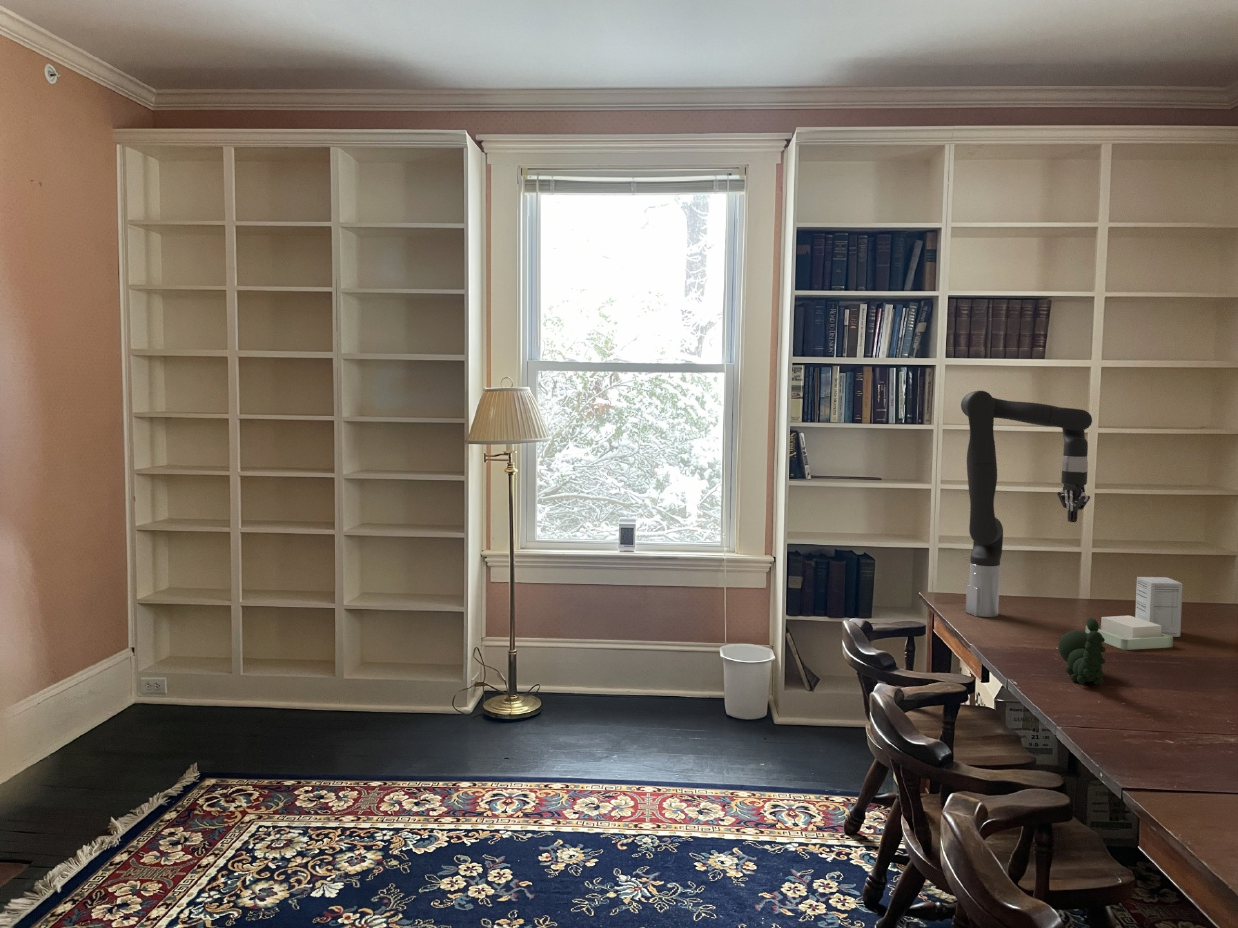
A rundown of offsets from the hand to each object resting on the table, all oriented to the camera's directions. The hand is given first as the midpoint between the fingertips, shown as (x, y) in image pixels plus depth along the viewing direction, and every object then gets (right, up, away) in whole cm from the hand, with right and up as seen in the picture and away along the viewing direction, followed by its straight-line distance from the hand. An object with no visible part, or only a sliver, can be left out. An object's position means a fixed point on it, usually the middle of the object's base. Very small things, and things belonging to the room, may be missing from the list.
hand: (1072, 521), depth 283 cm
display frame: (+3, -34, -26) cm, 43 cm away
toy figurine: (-29, -37, -60) cm, 76 cm away
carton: (+5, -34, -24) cm, 42 cm away
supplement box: (+18, -34, -16) cm, 41 cm away
